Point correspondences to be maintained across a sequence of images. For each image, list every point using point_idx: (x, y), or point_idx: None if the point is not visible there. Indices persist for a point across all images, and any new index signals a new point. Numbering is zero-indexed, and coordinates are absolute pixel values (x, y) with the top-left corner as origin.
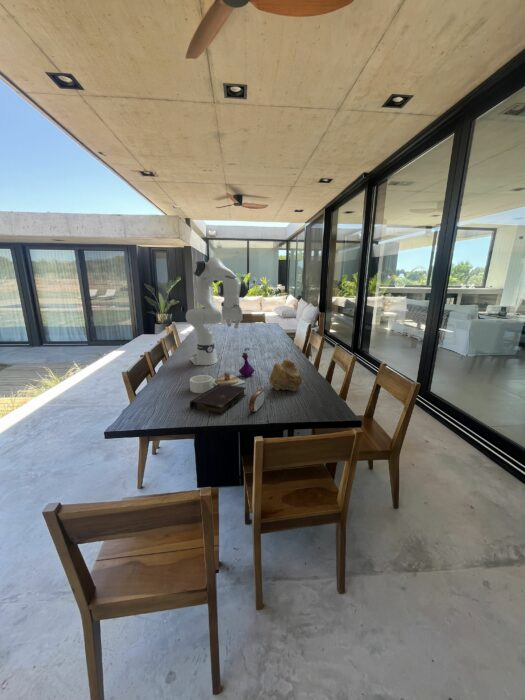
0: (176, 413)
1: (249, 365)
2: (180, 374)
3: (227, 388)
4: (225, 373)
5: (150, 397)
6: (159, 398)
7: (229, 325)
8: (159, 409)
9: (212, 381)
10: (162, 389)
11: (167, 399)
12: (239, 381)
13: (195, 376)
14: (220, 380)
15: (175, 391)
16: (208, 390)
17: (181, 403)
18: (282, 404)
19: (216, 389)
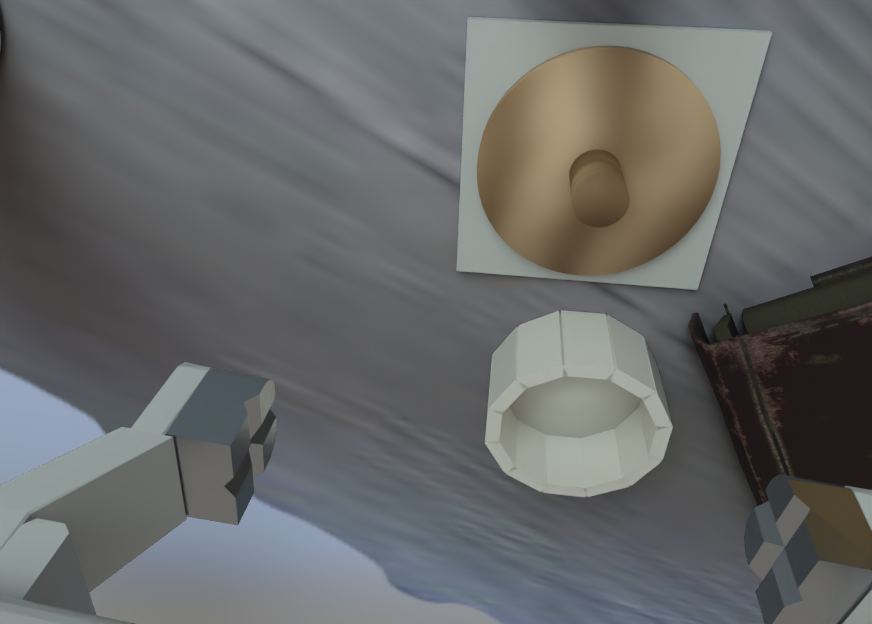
0: None
1: None
2: (186, 345)
3: (860, 359)
4: (599, 221)
5: (486, 580)
6: (530, 564)
7: (254, 431)
8: (657, 605)
9: (634, 362)
10: (414, 515)
11: (573, 549)
12: (699, 78)
13: (497, 438)
14: (572, 234)
15: (493, 488)
16: (753, 453)
17: (680, 533)
18: None
19: (794, 417)
